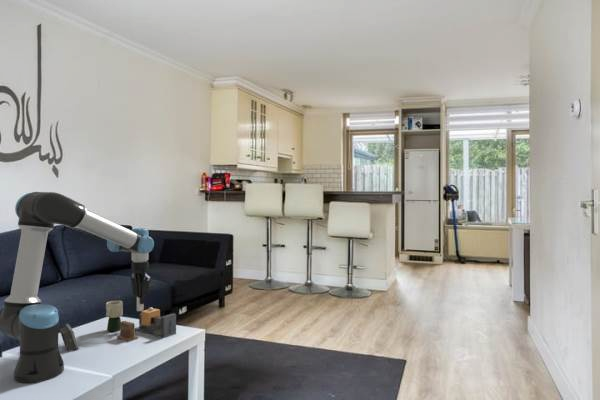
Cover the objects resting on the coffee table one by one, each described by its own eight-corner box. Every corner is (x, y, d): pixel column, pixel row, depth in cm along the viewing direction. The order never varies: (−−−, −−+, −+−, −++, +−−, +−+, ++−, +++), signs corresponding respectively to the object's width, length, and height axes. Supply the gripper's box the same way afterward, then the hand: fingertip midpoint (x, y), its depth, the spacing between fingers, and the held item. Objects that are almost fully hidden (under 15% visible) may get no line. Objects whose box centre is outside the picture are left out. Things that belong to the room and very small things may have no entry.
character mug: (112, 326, 205) (112, 299, 205) (127, 326, 204) (127, 299, 204) (100, 333, 194) (100, 305, 194) (116, 334, 193) (116, 305, 193)
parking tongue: (128, 341, 184) (128, 325, 183) (116, 338, 188) (116, 322, 188) (138, 338, 188) (138, 322, 188) (126, 335, 192) (126, 319, 192)
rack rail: (163, 338, 189) (163, 317, 188) (134, 330, 199) (134, 311, 199) (176, 333, 194) (176, 314, 194) (147, 326, 205) (147, 307, 205)
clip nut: (148, 326, 194) (148, 310, 194) (141, 324, 197) (141, 308, 197) (159, 322, 200) (159, 307, 200) (152, 320, 202) (152, 305, 202)
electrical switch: (79, 349, 174) (76, 327, 174) (65, 353, 171) (62, 331, 170) (74, 343, 182) (72, 322, 181) (61, 347, 178) (58, 325, 178)
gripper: (155, 261, 202) (155, 310, 202) (137, 258, 209) (137, 306, 209) (142, 263, 195) (142, 314, 196) (124, 260, 202) (124, 310, 202)
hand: (140, 310), depth 202 cm, fingers closed
